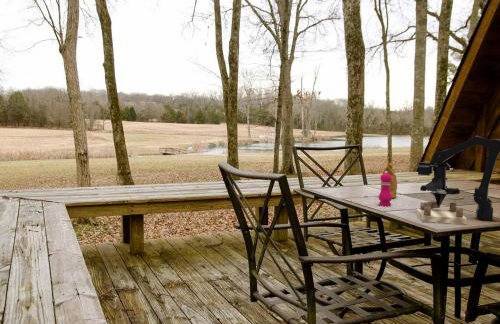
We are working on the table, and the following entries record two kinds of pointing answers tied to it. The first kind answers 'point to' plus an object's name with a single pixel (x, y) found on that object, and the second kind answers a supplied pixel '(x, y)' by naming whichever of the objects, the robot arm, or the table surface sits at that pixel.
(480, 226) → the table surface
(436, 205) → the hinged leg
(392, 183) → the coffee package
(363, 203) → the table surface
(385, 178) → the pepper mill
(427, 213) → the stool seat
